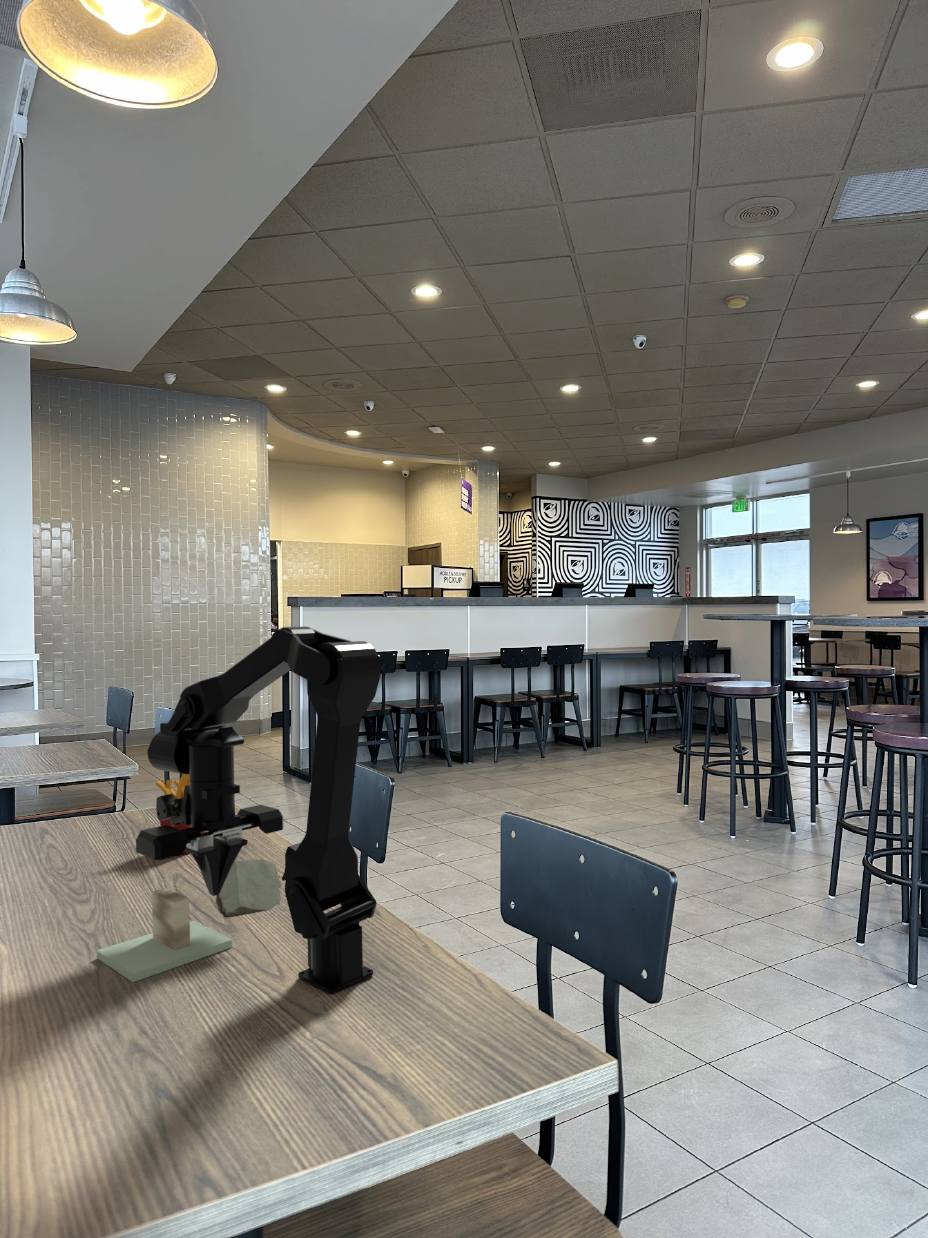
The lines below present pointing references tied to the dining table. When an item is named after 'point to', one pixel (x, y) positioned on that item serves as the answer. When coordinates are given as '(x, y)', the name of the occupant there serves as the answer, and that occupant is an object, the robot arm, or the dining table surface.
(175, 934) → the beige flat box
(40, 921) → the dining table surface
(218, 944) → the mat
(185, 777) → the french fries
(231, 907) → the stone slab
